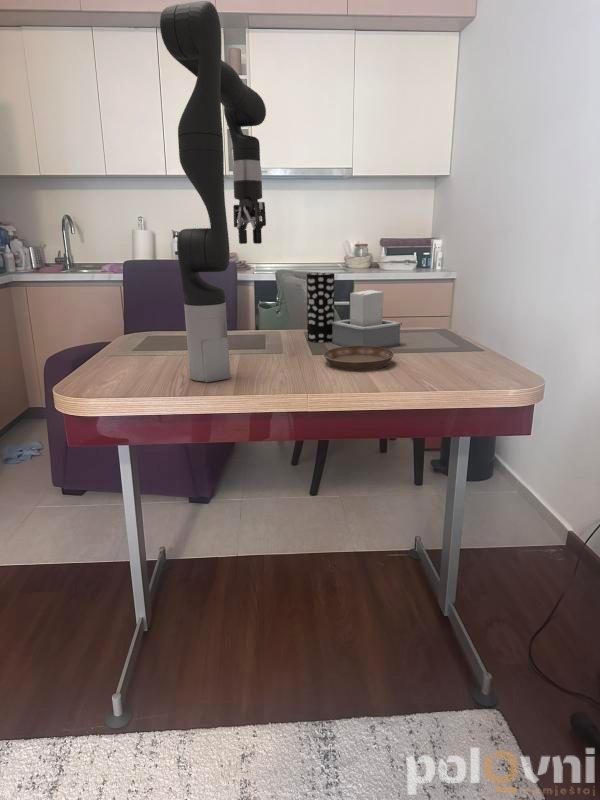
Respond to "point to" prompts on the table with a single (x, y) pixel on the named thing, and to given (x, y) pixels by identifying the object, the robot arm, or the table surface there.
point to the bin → (366, 334)
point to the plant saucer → (358, 357)
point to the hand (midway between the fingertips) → (250, 243)
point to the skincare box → (366, 308)
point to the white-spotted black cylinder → (320, 306)
